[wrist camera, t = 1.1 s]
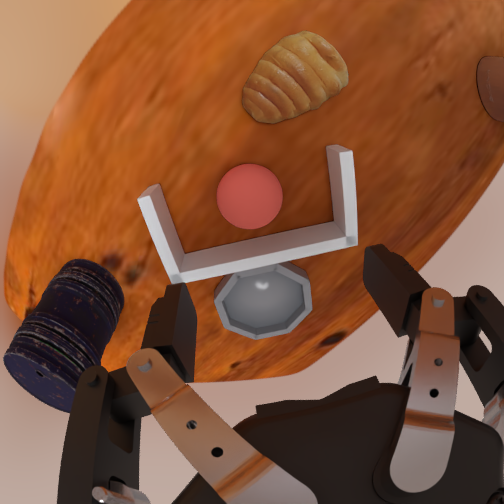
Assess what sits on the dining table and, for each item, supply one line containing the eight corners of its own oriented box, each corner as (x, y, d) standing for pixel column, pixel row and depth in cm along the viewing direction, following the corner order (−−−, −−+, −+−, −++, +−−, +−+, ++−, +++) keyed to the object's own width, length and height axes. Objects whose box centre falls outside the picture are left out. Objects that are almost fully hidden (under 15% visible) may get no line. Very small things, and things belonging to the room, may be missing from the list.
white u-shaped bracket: (337, 144, 23) (352, 150, 20) (344, 229, 28) (357, 244, 25) (148, 186, 24) (137, 199, 21) (178, 265, 29) (172, 285, 26)
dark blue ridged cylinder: (117, 329, 33) (88, 424, 20) (57, 301, 30) (12, 385, 17) (132, 278, 29) (89, 388, 16) (62, 245, 26) (-7, 334, 13)
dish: (302, 247, 29) (306, 256, 27) (310, 317, 34) (313, 326, 32) (206, 269, 29) (205, 278, 28) (230, 333, 34) (231, 344, 33)
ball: (271, 152, 23) (281, 165, 19) (281, 207, 26) (293, 232, 21) (211, 165, 24) (206, 182, 19) (226, 219, 26) (225, 247, 22)
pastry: (274, 140, 23) (281, 146, 20) (222, 88, 20) (220, 84, 17) (348, 81, 20) (366, 78, 17) (300, 27, 18) (311, 15, 14)
